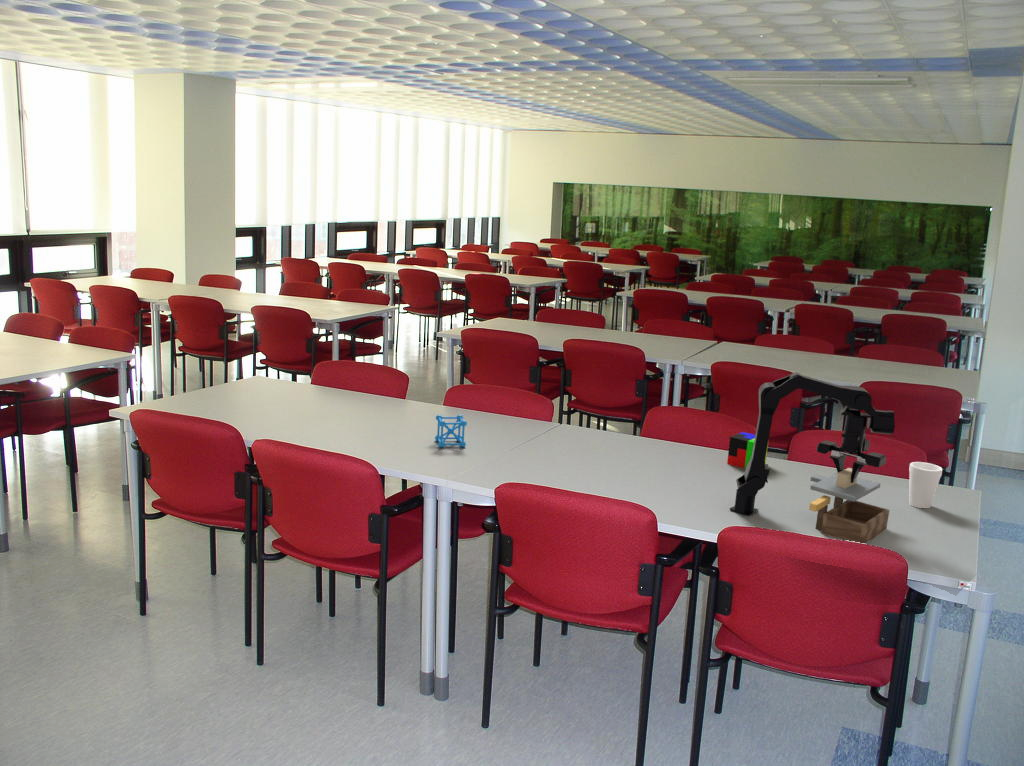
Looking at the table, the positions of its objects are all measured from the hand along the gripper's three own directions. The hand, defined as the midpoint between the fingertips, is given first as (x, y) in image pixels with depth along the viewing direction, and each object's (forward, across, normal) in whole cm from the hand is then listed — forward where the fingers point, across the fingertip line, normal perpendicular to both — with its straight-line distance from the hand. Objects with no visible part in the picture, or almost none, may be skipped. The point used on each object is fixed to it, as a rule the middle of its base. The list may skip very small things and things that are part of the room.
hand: (846, 481), depth 267 cm
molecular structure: (+14, +128, +38) cm, 135 cm away
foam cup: (+13, -11, -36) cm, 39 cm away
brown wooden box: (+13, -5, +5) cm, 14 cm away
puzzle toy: (+13, +47, -30) cm, 57 cm away
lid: (+2, +2, 0) cm, 3 cm away
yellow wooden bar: (+5, +2, +13) cm, 15 cm away
